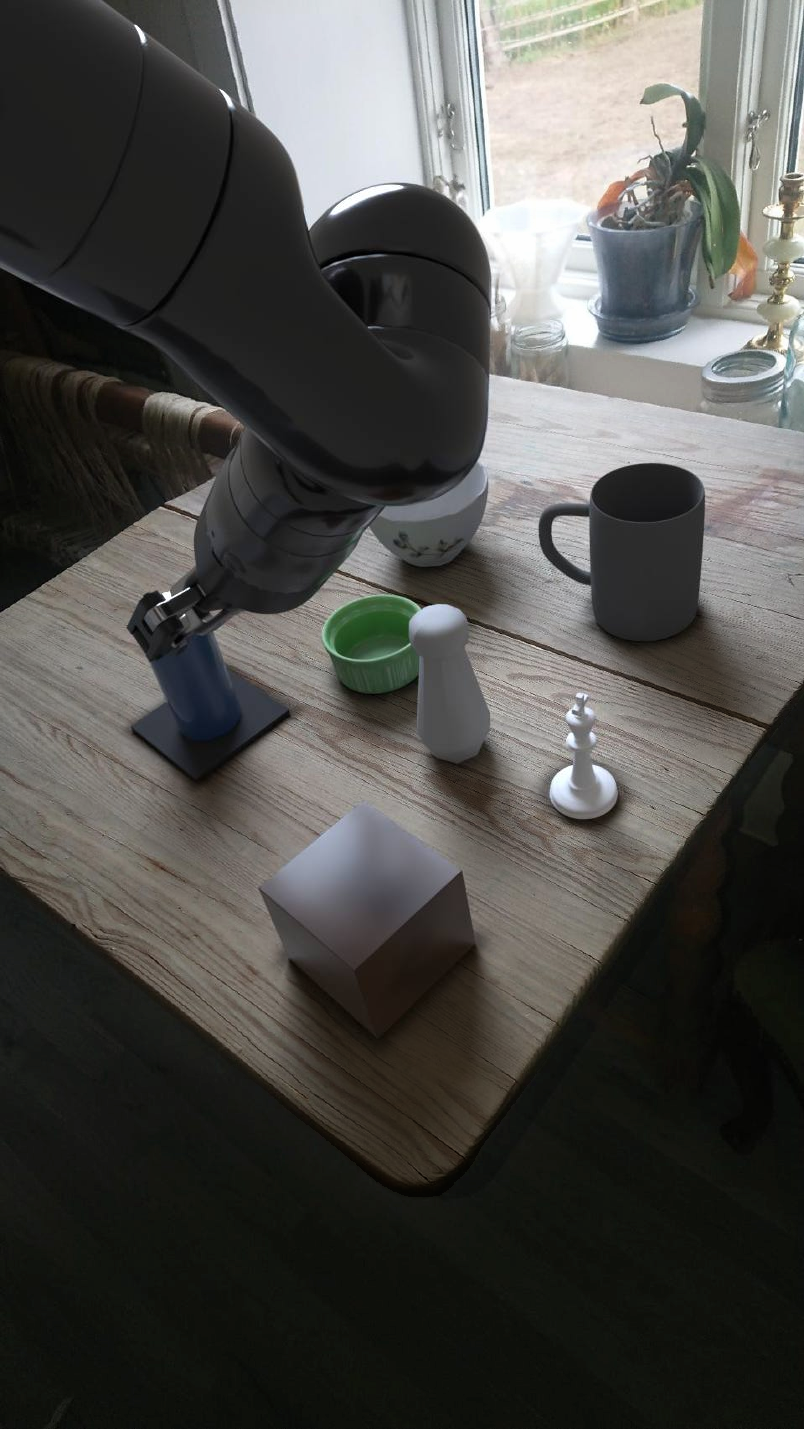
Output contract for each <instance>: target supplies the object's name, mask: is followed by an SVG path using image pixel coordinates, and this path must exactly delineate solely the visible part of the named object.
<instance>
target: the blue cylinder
mask: <svg viewBox="0 0 804 1429" xmlns="http://www.w3.org/2000/svg"><path fill="white" fill-rule="evenodd" d="M161 593H162V594H163V596H164V597H165V599H166V600H168V599H170V598H171V594H170V591H166V592H161ZM180 621H181V622H182V624H183V625H184V627H185V628H186V629H187V628H188V627H189V625H190V623H189V620H188V619H187V617H186V616H185V614H184V615H183V616H182V617H181V618H180ZM163 656H164V657H162V658H161V659H160V660H158V661H156V660H154V661H152V662H149V660H148V659H147V661H148V663H149V666H150V668H151V670H152V672H153V675H154V677H155V679H156V681H157V683H158V686H159V688H160V691H161V692H162V695H163V697H164V700H165V702H167V704H168V706H169V708H170V711H171V713H172V715H173V718H174V720H175V722H176V724H177V727H178V729H179V731H180V733H181V734H182V735H183V736H184V737H186V738H188V739H190V740H195V741H207V740H212V739H215V738H218V737H221V736H223V735H224V734H226V733H228V732H229V731H230V730H232V729H233V728H234V727H235V726H236V724H237V723H238V721H239V720H240V717H241V713H242V709H241V705H240V702H239V700H238V697H237V694H236V692H235V689H234V686H233V684H232V681H231V678H230V675H229V673H228V670H227V669H228V667H227V664H226V662H225V659H224V657H223V653H222V652H221V649H220V646H219V643H218V641H217V638H216V635H215V631H213V632H211V633H208V634H206V635H203V636H201V635H198V634H197V635H196V636H195V637H193V638H192V639H191V640H190V642H189V644H188V645H187V647H186V649H185V650H184V652H182V653H180V654H179V655H177V656H175V657H174V656H172V654H171V653H170V652H169V653H168V654H166V655H163Z"/></svg>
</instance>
